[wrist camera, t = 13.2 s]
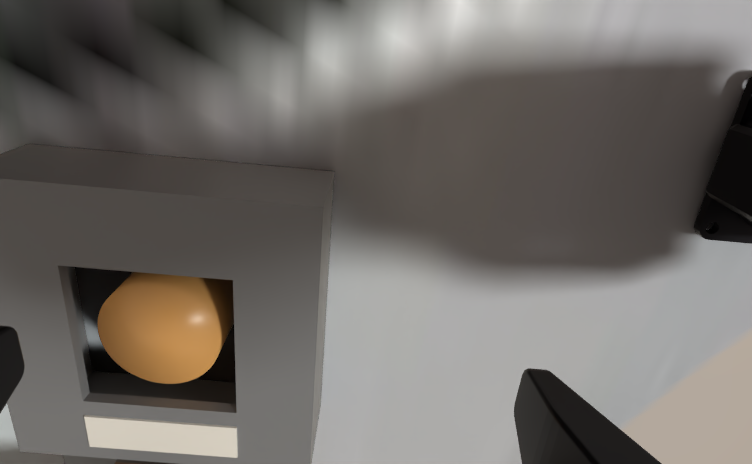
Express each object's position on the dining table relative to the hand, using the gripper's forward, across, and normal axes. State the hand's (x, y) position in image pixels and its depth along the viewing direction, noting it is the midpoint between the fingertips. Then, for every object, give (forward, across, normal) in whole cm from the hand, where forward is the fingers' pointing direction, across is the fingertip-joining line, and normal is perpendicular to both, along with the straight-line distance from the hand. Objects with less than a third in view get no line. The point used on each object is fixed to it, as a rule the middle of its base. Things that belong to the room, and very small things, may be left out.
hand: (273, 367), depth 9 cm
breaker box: (+12, +6, +6) cm, 15 cm away
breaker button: (+12, +6, +6) cm, 14 cm away
